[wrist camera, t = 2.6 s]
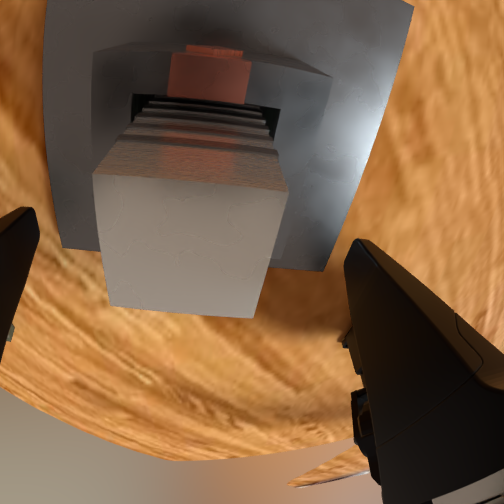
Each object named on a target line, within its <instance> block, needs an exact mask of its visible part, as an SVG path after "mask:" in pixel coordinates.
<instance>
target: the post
mask: <svg viewBox="0 0 504 504" xmlns="http://www.w3.org/2000/svg"><path fill="white" fill-rule="evenodd" d="M259 109H260V105H253V104H246V103H244V104H238V103H230V102H222V101H214V100H204V99H194V98H183V97H169V96H167V95H155V96H154V99H150V101H149V104H148V105H145V106H144V107H143V108H142V112H141V113H138V114H137V115H136V116H135V120H134V121H133V122H130V123H129V124H128V125H127V126H126V131H125V132H124V133H123V134H119V135H118V137H117V138H116V139H115V144H114V146H113V147H112V148H111V150H110V151H109V152H108V153H107V155H106V156H105V157H104V159H103V160H102V161H101V163H100V164H99V165H98V167H97V168H96V169H95V171H94V172H93V173H92V179H93V191H94V202H95V211H96V220H97V228H98V236H99V243H100V250H101V256H102V263H103V269H104V274H105V280H106V285H107V291H108V296H109V301H110V305H111V306H116V307H125V308H134V309H143V310H152V311H162V312H173V313H184V314H196V315H208V316H222V317H237V318H253V317H254V313H255V310H256V306H257V303H258V300H259V296H260V293H261V289H262V286H263V282H264V279H265V276H266V272H267V269H268V265H269V262H270V258H271V255H272V251H273V248H274V244H275V241H276V237H277V234H278V230H279V227H280V223H281V220H282V216H283V212H284V209H285V205H286V202H287V198H288V195H289V191H288V188H287V185H286V182H285V179H284V176H283V173H282V171H281V168H280V165H279V162H278V158H279V154H278V151H277V150H276V149H274V148H273V143H274V141H273V138H272V137H271V136H269V128H268V126H265V122H266V120H265V117H262V114H263V112H262V110H259Z"/></svg>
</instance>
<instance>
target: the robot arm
mask: <svg viewBox="0 0 504 504" xmlns="http://www.w3.org/2000/svg"><path fill="white" fill-rule="evenodd" d="M39 238H40V231H39V226H38V222H37V218H36V213H35V210H34V209H33V208H32V207H19V208H17V209H16V210H14V211H12V212H10V213H9V214H7V215H5V216H3V217H2V218H0V362H1V359H2V355H3V351H4V348H5V344H6V341H7V337H8V334H9V331H10V327H11V324H12V321H13V318H14V315H15V312H16V309H17V306H18V303H19V301H20V298H21V295H22V292H23V290H24V287H25V284H26V281H27V277H28V274H29V271H30V267H31V264H32V261H33V257H34V254H35V251H36V248H37V245H38V242H39ZM344 274H345V281H346V288H347V295H348V303H349V310H350V315H351V320H352V324H353V327H352V328H351V330H350V331H349V333H348V334H347V336H346V337H345V339H344V340H343V342H342V346H343V348H349V352H350V355H351V359H352V362H353V366H354V369H355V372H356V374H357V375H360V376H361V379H362V383H363V386H364V388H362V389H360V390H358V391H357V390H355V391H353V392H351V399H352V400H351V409H352V420H353V432H354V443H355V444H356V445H358V446H359V448H360V450H361V452H362V453H363V455H364V456H366V457H367V458H368V462H369V467H370V472H371V476H372V478H373V479H374V480H375V481H376V482H377V483H378V485H380V486H381V488H382V496H383V504H504V354H503V353H502V352H501V351H499V350H498V349H497V348H496V347H495V346H494V345H492V344H491V343H490V342H489V341H488V340H486V339H485V338H484V337H483V336H482V335H481V334H479V333H478V332H477V331H476V330H475V329H474V328H473V327H472V326H470V325H469V324H468V323H467V322H466V321H465V320H464V319H463V318H461V317H460V316H459V315H458V314H457V313H454V310H453V309H451V308H450V307H449V306H448V305H447V304H446V303H445V302H444V301H442V300H441V299H440V298H439V297H438V296H437V295H435V294H434V293H433V292H432V291H431V290H430V289H429V288H427V287H426V286H425V285H424V284H423V283H421V282H420V281H419V280H418V279H417V278H416V277H414V276H413V275H412V274H411V273H410V272H408V271H407V270H406V269H405V268H404V267H402V266H401V265H400V264H399V263H397V262H396V261H395V260H394V259H392V258H391V257H390V256H389V255H387V254H386V253H385V252H384V251H382V250H381V249H380V248H379V247H377V246H376V245H375V244H374V243H372V242H371V241H370V240H367V239H359V238H357V239H355V240H354V241H353V243H352V245H351V247H350V250H349V252H348V254H347V256H346V258H345V261H344Z"/></svg>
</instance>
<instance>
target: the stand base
mask: <svg viewBox="0 0 504 504" xmlns="http://www.w3.org/2000/svg"><path fill="white" fill-rule="evenodd" d="M413 10H414V6H412V5H410V4H408V3H406V2H404V1H402V0H47V8H46V18H45V29H44V44H43V115H44V130H45V142H46V153H47V162H48V170H49V177H50V184H51V191H52V197H53V203H54V209H55V214H56V219H57V224H58V229H59V234H60V239H61V243H62V248H69V249H79V250H89V251H98V252H101V250H100V243H99V236H98V228H97V220H96V211H95V202H94V191H93V179H92V173H93V172H94V171H95V169H96V168H97V167H98V165H99V164H100V163H101V161H102V160H103V159H104V157H105V156H106V155H107V153H108V152H109V151H110V150H111V148H112V147H113V146H114V144H115V139H116V138H117V137H118V135H119V134H123V133H124V132H125V131H126V126H127V125H128V124H129V123H130V122H133V121H134V120H135V116H136V115H137V114H138V113H141V112H142V108H143V107H144V106H145V105H148V104H149V101H150V99H154V96H155V95H167V96H169V97H183V98H194V99H204V100H214V101H222V102H230V103H238V104H244V103H246V104H253V105H260V109H259V110H262V112H263V114H262V117H265V120H266V122H265V126H268V128H269V136H271V137H272V138H273V141H274V143H273V148H274V149H276V150H277V151H278V154H279V158H278V162H279V165H280V168H281V171H282V173H283V176H284V179H285V182H286V185H287V188H288V191H289V195H288V198H287V202H286V205H285V209H284V212H283V216H282V220H281V223H280V227H279V230H278V234H277V237H276V241H275V244H274V248H273V251H272V255H271V258H270V262H269V265H268V267H272V268H284V269H296V270H309V271H321V272H323V271H324V268H325V266H326V264H327V261H328V259H329V257H330V254H331V252H332V250H333V247H334V245H335V243H336V240H337V238H338V235H339V233H340V230H341V228H342V225H343V223H344V220H345V218H346V215H347V213H348V210H349V208H350V205H351V203H352V200H353V198H354V195H355V192H356V190H357V187H358V185H359V182H360V179H361V177H362V174H363V171H364V168H365V166H366V163H367V160H368V157H369V155H370V152H371V149H372V146H373V143H374V140H375V138H376V135H377V132H378V129H379V126H380V123H381V120H382V117H383V114H384V111H385V108H386V105H387V102H388V98H389V95H390V92H391V89H392V86H393V82H394V79H395V76H396V72H397V69H398V66H399V62H400V59H401V55H402V52H403V48H404V45H405V41H406V37H407V34H408V30H409V26H410V22H411V18H412V14H413Z"/></svg>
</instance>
